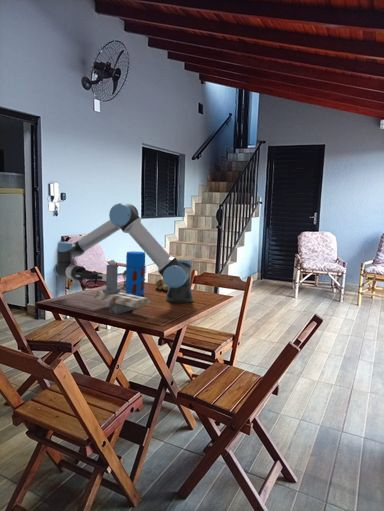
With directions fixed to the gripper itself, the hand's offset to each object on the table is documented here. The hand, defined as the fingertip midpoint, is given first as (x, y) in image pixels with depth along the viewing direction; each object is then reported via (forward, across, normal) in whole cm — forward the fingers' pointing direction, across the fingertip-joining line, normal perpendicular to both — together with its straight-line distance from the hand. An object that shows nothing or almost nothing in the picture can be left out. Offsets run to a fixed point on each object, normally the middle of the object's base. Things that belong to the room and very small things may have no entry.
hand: (107, 278), depth 184 cm
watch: (-29, -47, -15) cm, 57 cm away
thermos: (-10, -31, -15) cm, 36 cm away
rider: (+2, -1, -8) cm, 8 cm away
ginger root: (-7, -56, -15) cm, 59 cm away
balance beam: (+9, -1, -15) cm, 18 cm away
